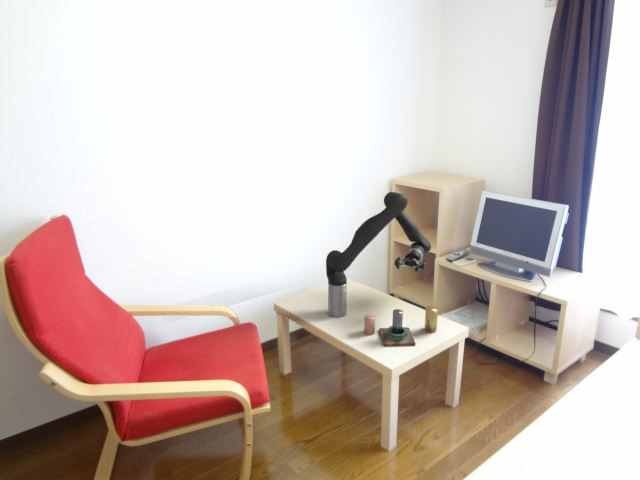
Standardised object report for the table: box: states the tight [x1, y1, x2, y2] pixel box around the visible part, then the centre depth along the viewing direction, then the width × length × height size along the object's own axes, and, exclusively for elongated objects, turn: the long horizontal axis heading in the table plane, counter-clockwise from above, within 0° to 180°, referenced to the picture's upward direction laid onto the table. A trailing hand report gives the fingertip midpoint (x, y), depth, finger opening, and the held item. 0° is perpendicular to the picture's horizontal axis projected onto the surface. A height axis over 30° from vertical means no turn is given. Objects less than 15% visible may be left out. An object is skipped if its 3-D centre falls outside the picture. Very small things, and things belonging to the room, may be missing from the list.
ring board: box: [378, 325, 416, 347], centre depth 206 cm, size 14×14×4 cm
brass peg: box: [423, 305, 439, 334], centre depth 211 cm, size 6×6×11 cm
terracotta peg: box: [363, 314, 376, 336], centre depth 210 cm, size 5×5×8 cm
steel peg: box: [391, 308, 404, 334], centre depth 204 cm, size 4×4×12 cm
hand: (406, 268), depth 212 cm, fingers open, 8 cm apart
